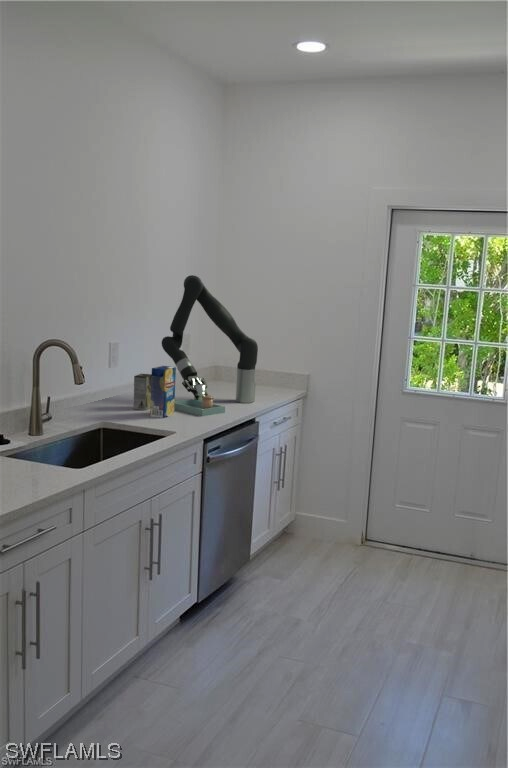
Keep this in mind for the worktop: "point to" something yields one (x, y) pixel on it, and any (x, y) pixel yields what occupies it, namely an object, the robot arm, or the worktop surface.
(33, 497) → the worktop surface
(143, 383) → the coffee box
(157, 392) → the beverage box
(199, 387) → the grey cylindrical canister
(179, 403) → the tray
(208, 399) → the pestle
